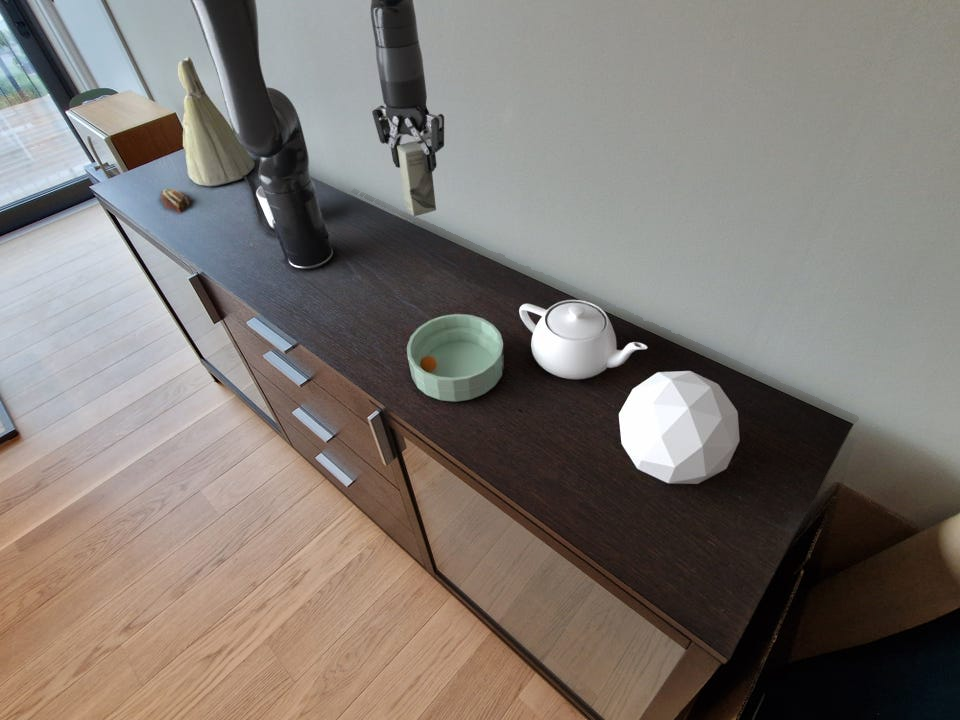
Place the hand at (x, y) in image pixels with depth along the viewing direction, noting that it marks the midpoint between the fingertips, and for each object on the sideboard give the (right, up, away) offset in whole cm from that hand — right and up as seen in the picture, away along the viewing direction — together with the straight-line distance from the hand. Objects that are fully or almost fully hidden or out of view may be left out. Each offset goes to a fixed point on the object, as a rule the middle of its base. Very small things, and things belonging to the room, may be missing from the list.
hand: (415, 168), depth 100 cm
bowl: (+9, -38, -12) cm, 41 cm away
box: (+1, -6, +6) cm, 9 cm away
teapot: (+28, -37, -12) cm, 48 cm away
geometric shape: (+38, -50, -26) cm, 68 cm away
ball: (+4, -37, -14) cm, 40 cm away
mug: (-32, -2, +26) cm, 41 cm away
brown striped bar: (-66, +4, +36) cm, 75 cm away
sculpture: (-59, +15, +46) cm, 76 cm away
